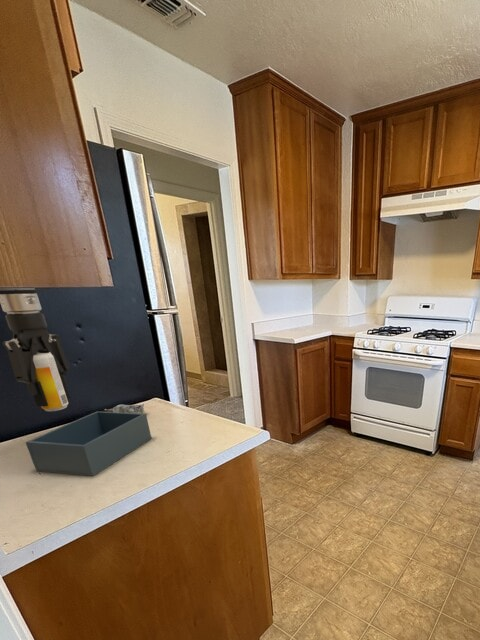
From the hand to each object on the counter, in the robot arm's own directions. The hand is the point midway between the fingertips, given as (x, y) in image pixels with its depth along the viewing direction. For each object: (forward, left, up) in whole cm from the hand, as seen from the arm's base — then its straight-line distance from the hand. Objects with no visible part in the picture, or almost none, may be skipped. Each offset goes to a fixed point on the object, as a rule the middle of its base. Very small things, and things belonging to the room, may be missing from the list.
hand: (53, 401), depth 96 cm
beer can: (0, 0, -2) cm, 2 cm away
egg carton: (+4, +20, -12) cm, 24 cm away
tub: (+16, -6, -12) cm, 21 cm away
